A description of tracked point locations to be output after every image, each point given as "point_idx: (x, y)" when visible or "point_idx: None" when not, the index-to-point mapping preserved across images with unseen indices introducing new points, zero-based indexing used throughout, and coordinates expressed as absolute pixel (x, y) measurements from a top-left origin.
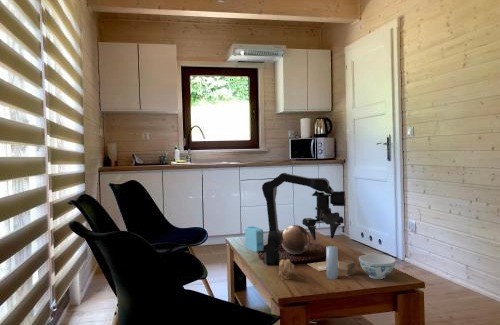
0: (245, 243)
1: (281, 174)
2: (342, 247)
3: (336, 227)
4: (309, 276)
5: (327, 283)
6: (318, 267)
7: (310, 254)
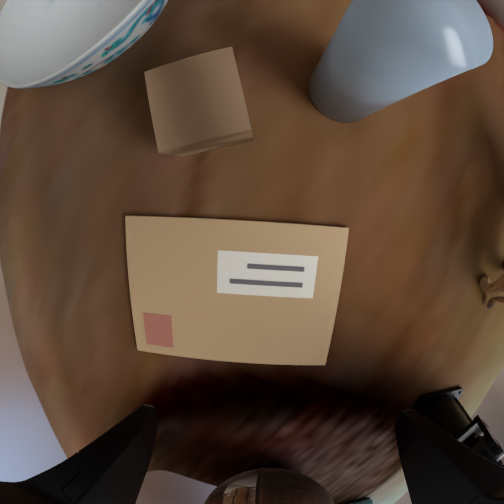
0: None
1: None
2: (67, 440)
3: (33, 488)
4: (437, 175)
5: None
6: (314, 284)
7: (214, 457)
